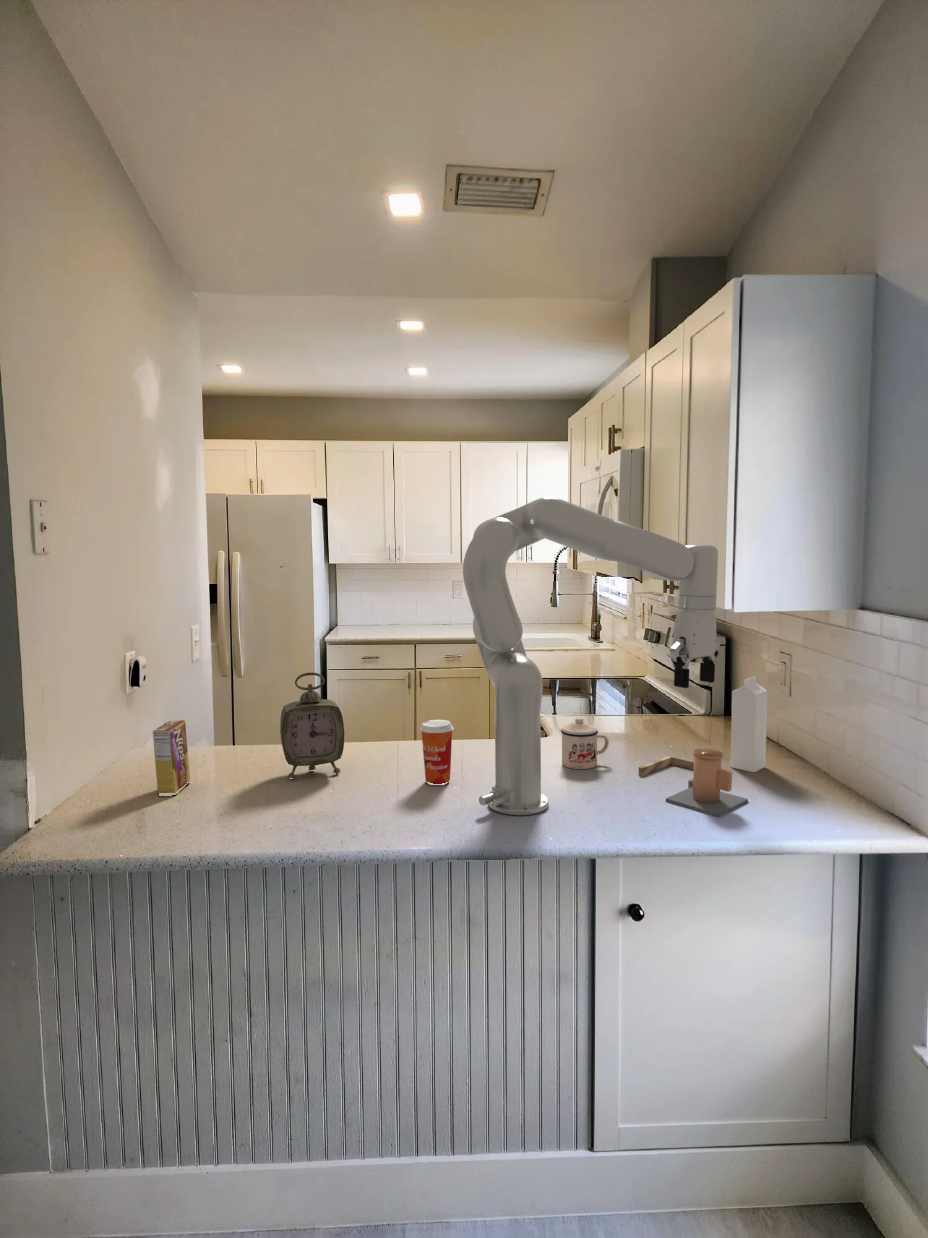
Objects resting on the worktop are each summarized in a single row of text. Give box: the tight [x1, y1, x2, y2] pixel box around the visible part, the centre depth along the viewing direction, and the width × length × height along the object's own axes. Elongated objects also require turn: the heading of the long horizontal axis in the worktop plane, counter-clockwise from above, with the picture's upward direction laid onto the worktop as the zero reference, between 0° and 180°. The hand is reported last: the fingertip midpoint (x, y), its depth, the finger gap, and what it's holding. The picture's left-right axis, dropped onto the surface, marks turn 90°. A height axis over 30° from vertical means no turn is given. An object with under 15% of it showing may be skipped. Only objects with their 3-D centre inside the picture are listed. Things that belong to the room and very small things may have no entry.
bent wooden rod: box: [638, 755, 723, 789], centre depth 163 cm, size 14×14×2 cm
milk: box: [730, 675, 768, 773], centre depth 167 cm, size 6×6×22 cm
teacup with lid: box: [560, 717, 610, 770], centre depth 172 cm, size 12×9×12 cm
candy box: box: [152, 719, 191, 794], centre depth 158 cm, size 9×4×15 cm, turn 0°
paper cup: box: [419, 719, 455, 784], centre depth 160 cm, size 8×8×14 cm
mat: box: [665, 787, 749, 817], centre depth 146 cm, size 12×12×1 cm
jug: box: [692, 747, 733, 803], centre depth 144 cm, size 8×6×10 cm
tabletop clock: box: [279, 671, 345, 779], centre depth 167 cm, size 14×9×25 cm, turn 108°
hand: (694, 684), depth 147 cm, fingers open, 9 cm apart
